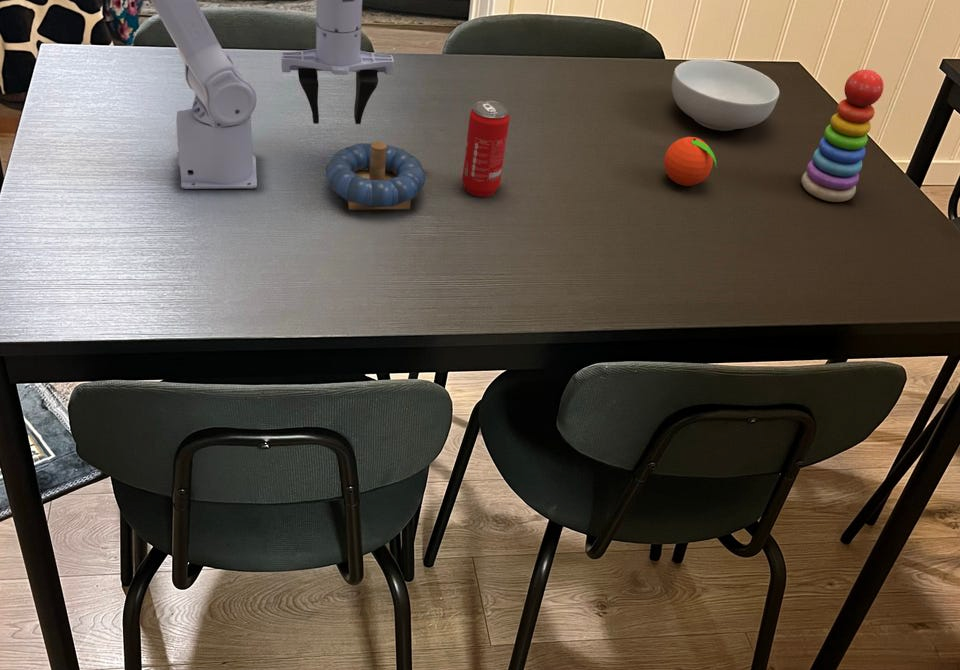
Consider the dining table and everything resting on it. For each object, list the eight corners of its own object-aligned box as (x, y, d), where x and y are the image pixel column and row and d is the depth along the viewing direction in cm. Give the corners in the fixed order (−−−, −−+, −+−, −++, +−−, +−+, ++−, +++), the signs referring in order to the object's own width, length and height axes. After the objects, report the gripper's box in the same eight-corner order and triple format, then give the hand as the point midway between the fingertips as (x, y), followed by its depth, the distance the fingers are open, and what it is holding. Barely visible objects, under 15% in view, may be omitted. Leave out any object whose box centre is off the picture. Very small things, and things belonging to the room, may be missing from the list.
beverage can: (471, 201, 129) (482, 120, 122) (455, 181, 133) (464, 102, 125) (505, 195, 131) (517, 115, 124) (488, 176, 135) (499, 97, 127)
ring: (331, 212, 121) (331, 189, 119) (322, 161, 130) (322, 138, 128) (430, 210, 124) (432, 188, 122) (415, 160, 133) (416, 138, 131)
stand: (348, 209, 124) (350, 160, 120) (343, 177, 130) (344, 129, 126) (410, 209, 126) (413, 161, 121) (401, 177, 132) (405, 130, 127)
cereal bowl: (780, 120, 160) (794, 81, 156) (745, 156, 149) (759, 114, 144) (688, 86, 166) (699, 48, 162) (647, 118, 155) (658, 77, 150)
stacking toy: (856, 187, 145) (905, 71, 133) (848, 210, 139) (899, 91, 127) (805, 171, 147) (848, 55, 135) (795, 193, 141) (839, 74, 130)
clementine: (721, 188, 140) (734, 145, 135) (694, 203, 136) (708, 159, 131) (676, 165, 144) (688, 122, 139) (649, 179, 140) (661, 135, 135)
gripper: (282, 35, 118) (283, 134, 126) (399, 38, 121) (393, 135, 130) (279, 12, 123) (281, 109, 132) (392, 16, 126) (386, 110, 135)
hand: (336, 120), depth 131 cm, fingers open, 5 cm apart
